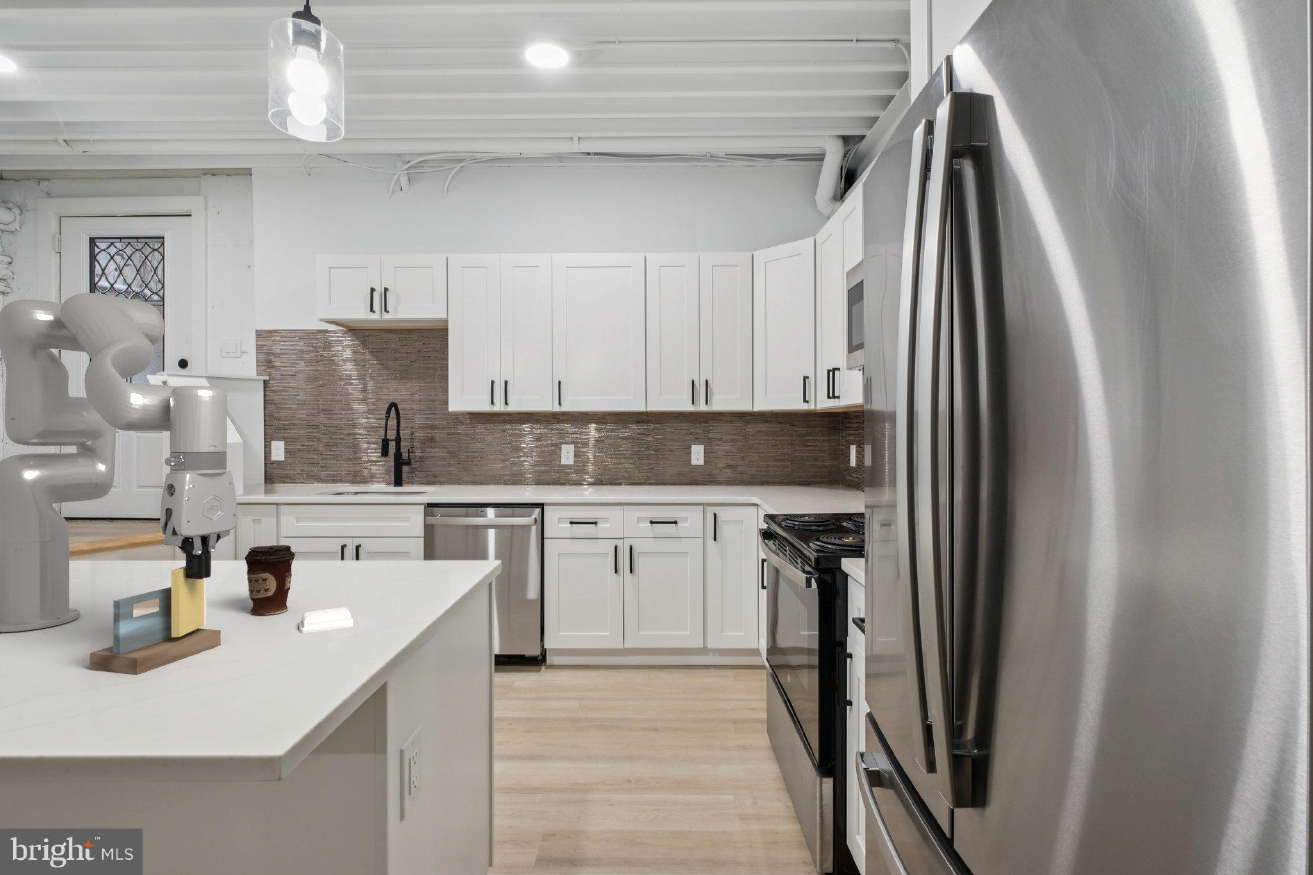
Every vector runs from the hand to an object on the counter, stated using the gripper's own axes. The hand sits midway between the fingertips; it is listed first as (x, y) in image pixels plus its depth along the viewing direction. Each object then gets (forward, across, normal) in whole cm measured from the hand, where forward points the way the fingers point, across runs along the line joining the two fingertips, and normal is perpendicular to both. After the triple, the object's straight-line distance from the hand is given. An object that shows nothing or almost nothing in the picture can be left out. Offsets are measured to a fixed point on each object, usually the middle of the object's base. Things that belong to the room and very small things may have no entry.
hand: (198, 577), depth 105 cm
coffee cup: (+13, +24, +9) cm, 29 cm away
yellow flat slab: (+9, +1, +3) cm, 9 cm away
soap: (+13, +19, -8) cm, 24 cm away
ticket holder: (+12, -2, +5) cm, 14 cm away
